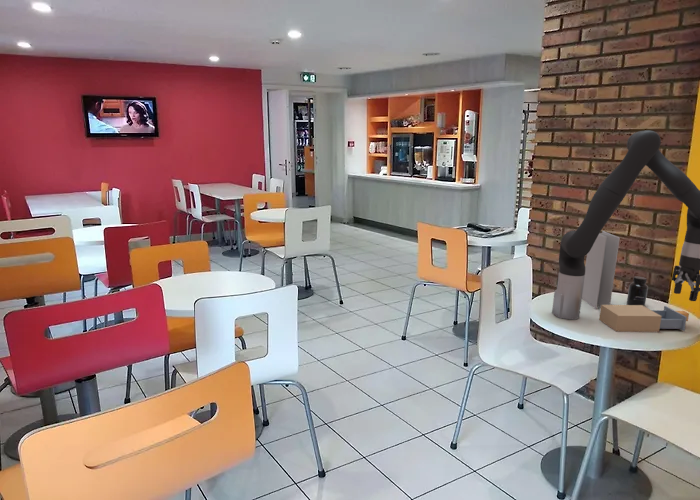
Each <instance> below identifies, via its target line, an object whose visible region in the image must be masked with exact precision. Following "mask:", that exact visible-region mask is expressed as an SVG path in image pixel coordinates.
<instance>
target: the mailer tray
mask: <svg viewBox="0 0 700 500" xmlns="http://www.w3.org/2000/svg"><path fill="white" fill-rule="evenodd" d="M650 310H651V309H650ZM651 311H653V312H655V313H657V314H659V315H660V316H662V317H661V323H660V329H666V330H667V329H668V330H669V329H672V330H673V329H678V330H680V331H682V332H685V330H686V324H687V322H688V321H689V316H690V313H689V312H686V311H684V310H674V309H672V308H670V307H669V306H667V305H664V307H663V310H662V309H661V310H659V309H656V310H655V309H653V310H651Z"/></svg>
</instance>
